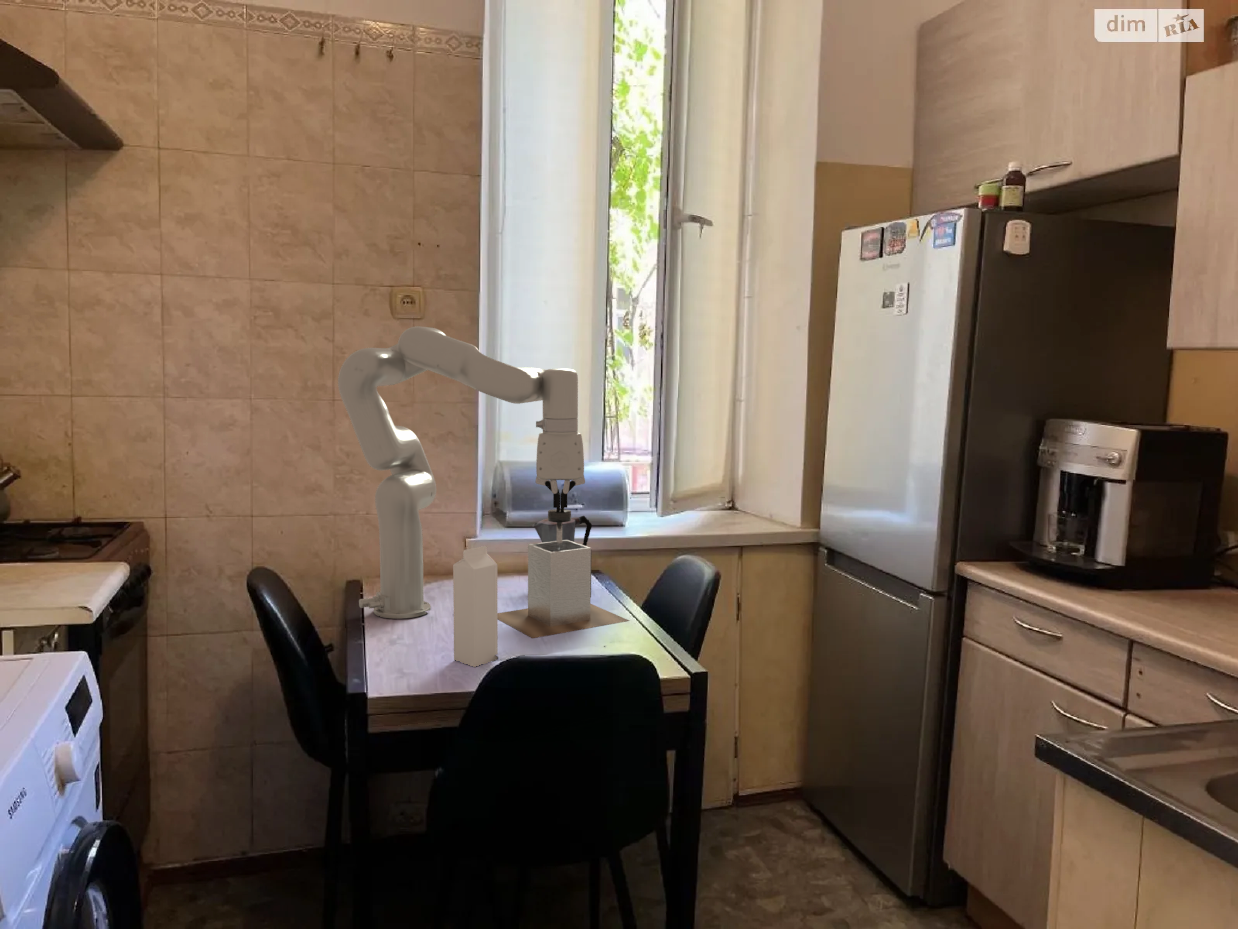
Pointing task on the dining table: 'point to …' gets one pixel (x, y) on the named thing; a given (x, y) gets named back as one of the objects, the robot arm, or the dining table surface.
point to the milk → (475, 608)
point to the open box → (559, 582)
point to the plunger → (559, 523)
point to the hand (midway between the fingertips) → (560, 510)
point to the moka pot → (549, 529)
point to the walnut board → (539, 629)
